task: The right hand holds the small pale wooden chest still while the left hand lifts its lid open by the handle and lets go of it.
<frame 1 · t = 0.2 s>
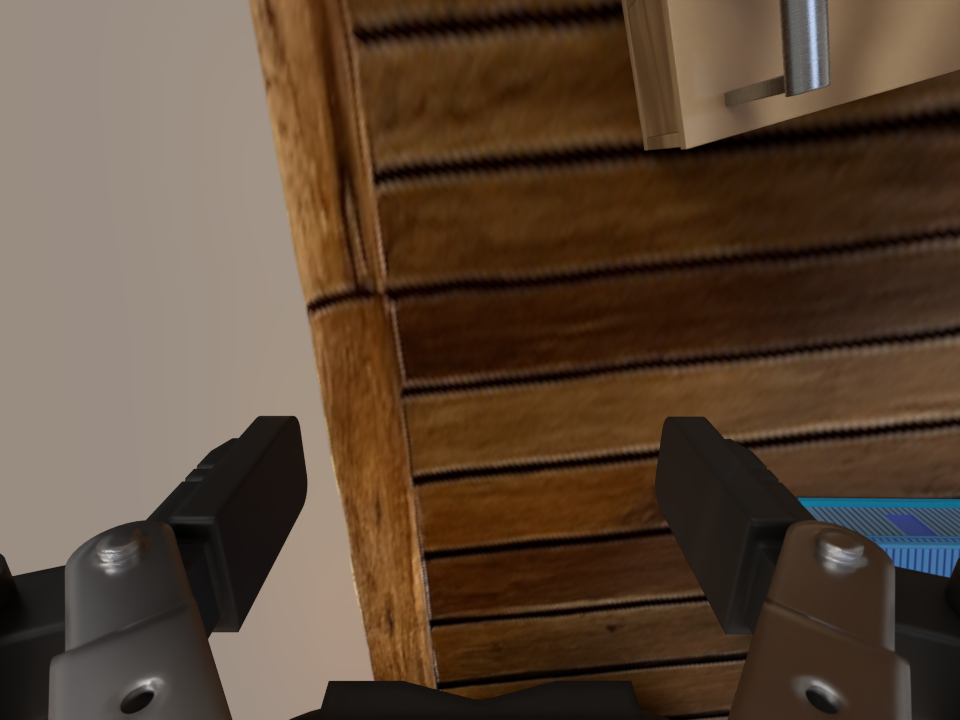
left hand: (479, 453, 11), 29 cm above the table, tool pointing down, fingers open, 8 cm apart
chest: (757, 40, 34), on the table
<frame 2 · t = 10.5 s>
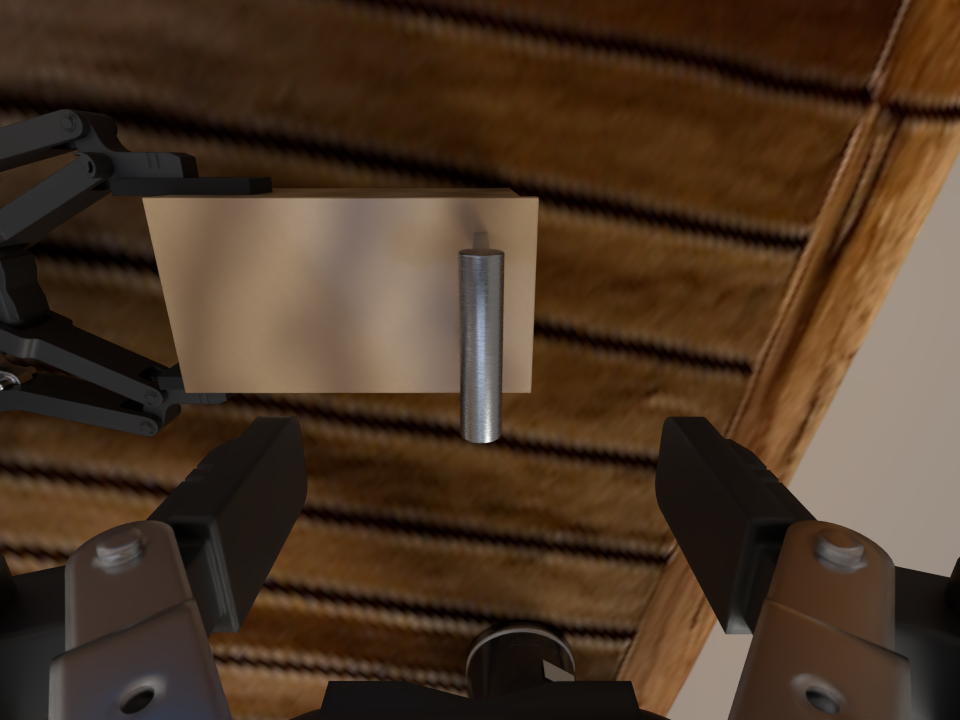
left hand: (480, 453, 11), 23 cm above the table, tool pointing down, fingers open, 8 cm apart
right hand: (275, 285, 27), fingers closed on chest, 9 cm apart
lid: (331, 321, 21), point 13 cm above the table, hinge at 0.0°
chest: (380, 264, 33), on the table, touching right hand
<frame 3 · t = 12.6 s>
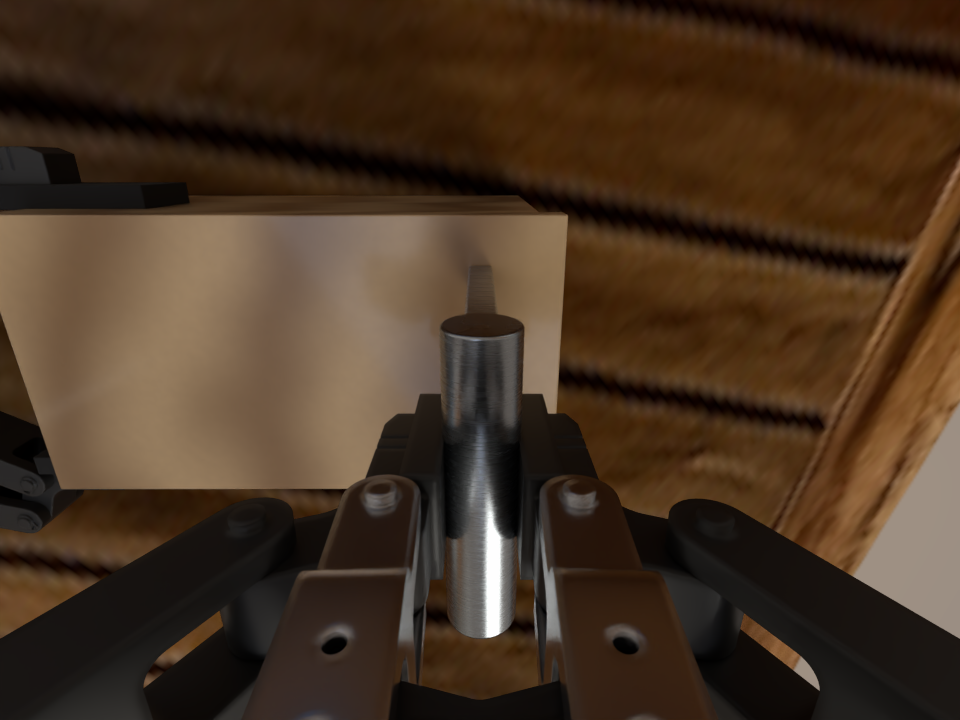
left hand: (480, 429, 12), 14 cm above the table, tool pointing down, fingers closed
lid: (246, 411, 13), point 13 cm above the table, hinge at -0.1°, touching left hand
chest: (349, 293, 25), on the table, touching right hand
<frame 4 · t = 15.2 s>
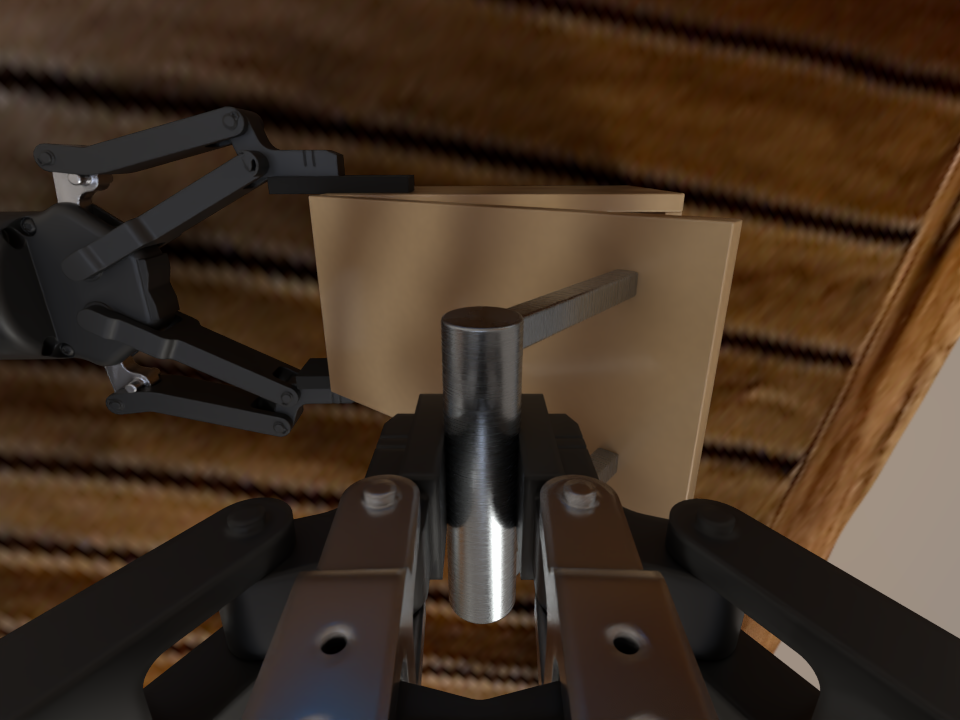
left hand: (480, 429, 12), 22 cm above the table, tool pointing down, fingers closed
right hand: (416, 284, 27), fingers closed on chest, 9 cm apart
lid: (396, 361, 17), point 18 cm above the table, hinge at 39.8°, touching left hand
chest: (493, 261, 33), on the table, touching right hand
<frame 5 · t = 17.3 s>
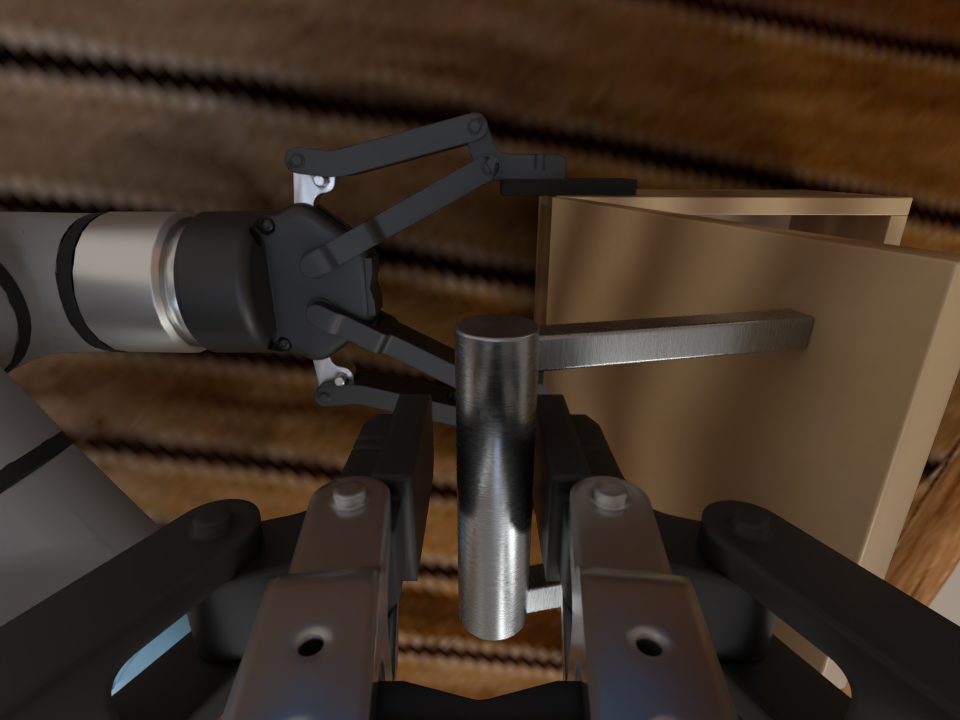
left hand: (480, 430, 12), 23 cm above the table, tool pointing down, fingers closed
right hand: (619, 283, 28), fingers closed on chest, 9 cm apart
lid: (545, 364, 17), point 19 cm above the table, hinge at 76.8°
chest: (661, 263, 34), on the table, touching right hand
when the right hand's fingers open (6 cm above the table, at t = 21.5 s): chest stays where it is, on the table.
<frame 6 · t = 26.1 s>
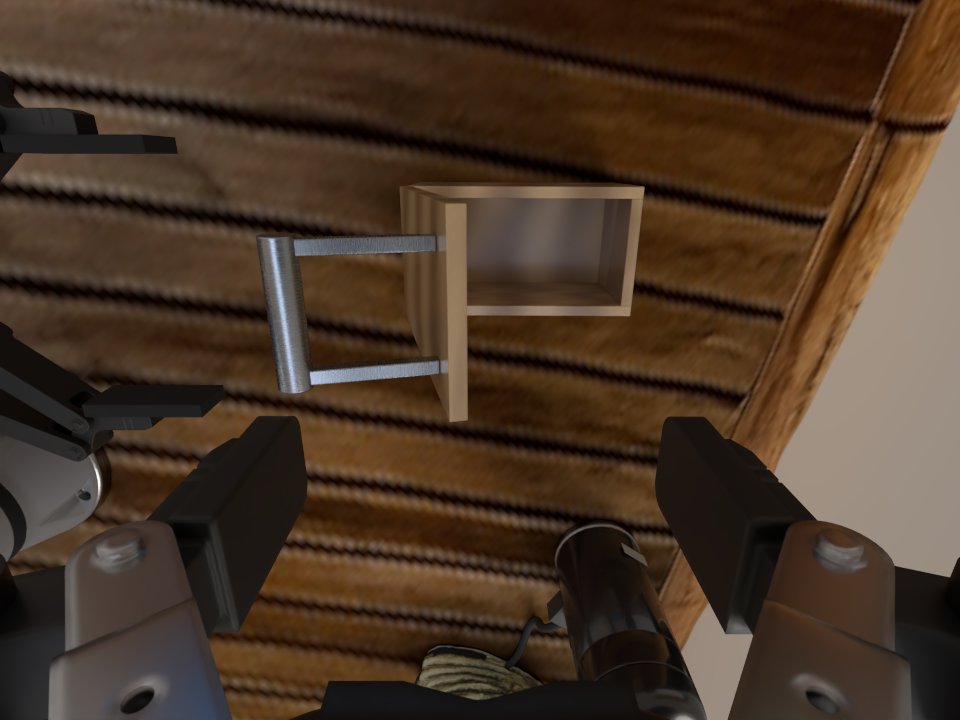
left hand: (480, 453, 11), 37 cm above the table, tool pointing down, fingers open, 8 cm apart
lid: (361, 281, 28), point 19 cm above the table, hinge at 76.0°
chest: (515, 237, 46), on the table
fossil: (490, 675, 65), on the table
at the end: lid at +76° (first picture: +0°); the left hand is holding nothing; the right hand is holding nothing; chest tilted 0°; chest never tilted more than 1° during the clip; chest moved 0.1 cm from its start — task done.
